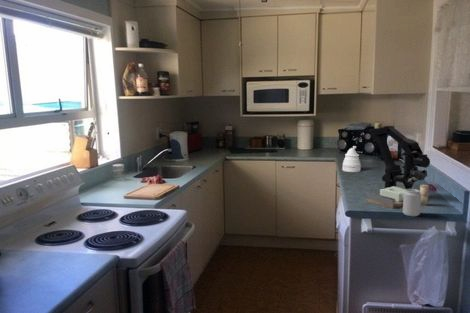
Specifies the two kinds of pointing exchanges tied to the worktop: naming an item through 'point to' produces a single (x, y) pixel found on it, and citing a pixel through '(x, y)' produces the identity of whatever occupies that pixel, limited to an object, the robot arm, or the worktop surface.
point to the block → (393, 193)
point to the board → (383, 200)
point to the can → (412, 202)
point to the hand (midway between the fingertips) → (408, 192)
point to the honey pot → (351, 161)
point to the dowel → (424, 194)
